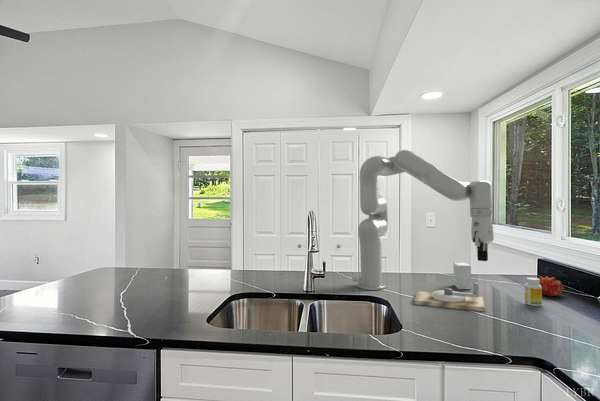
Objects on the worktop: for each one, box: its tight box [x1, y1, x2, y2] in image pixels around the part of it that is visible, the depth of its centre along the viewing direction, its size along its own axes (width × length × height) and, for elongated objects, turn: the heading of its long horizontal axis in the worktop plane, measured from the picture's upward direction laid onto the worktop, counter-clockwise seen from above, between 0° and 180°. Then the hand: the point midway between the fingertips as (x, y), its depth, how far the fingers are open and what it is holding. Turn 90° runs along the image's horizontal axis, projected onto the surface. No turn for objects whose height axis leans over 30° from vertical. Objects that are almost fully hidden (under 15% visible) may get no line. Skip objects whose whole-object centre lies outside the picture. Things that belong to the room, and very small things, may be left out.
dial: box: [431, 282, 480, 303], centre depth 133 cm, size 16×12×6 cm
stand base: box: [413, 290, 486, 312], centre depth 134 cm, size 24×14×2 cm, turn 65°
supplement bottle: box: [524, 277, 543, 307], centre depth 130 cm, size 5×5×10 cm
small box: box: [452, 262, 472, 290], centre depth 156 cm, size 8×6×10 cm
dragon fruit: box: [537, 275, 565, 297], centre depth 141 cm, size 8×8×12 cm
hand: (482, 260), depth 134 cm, fingers closed
